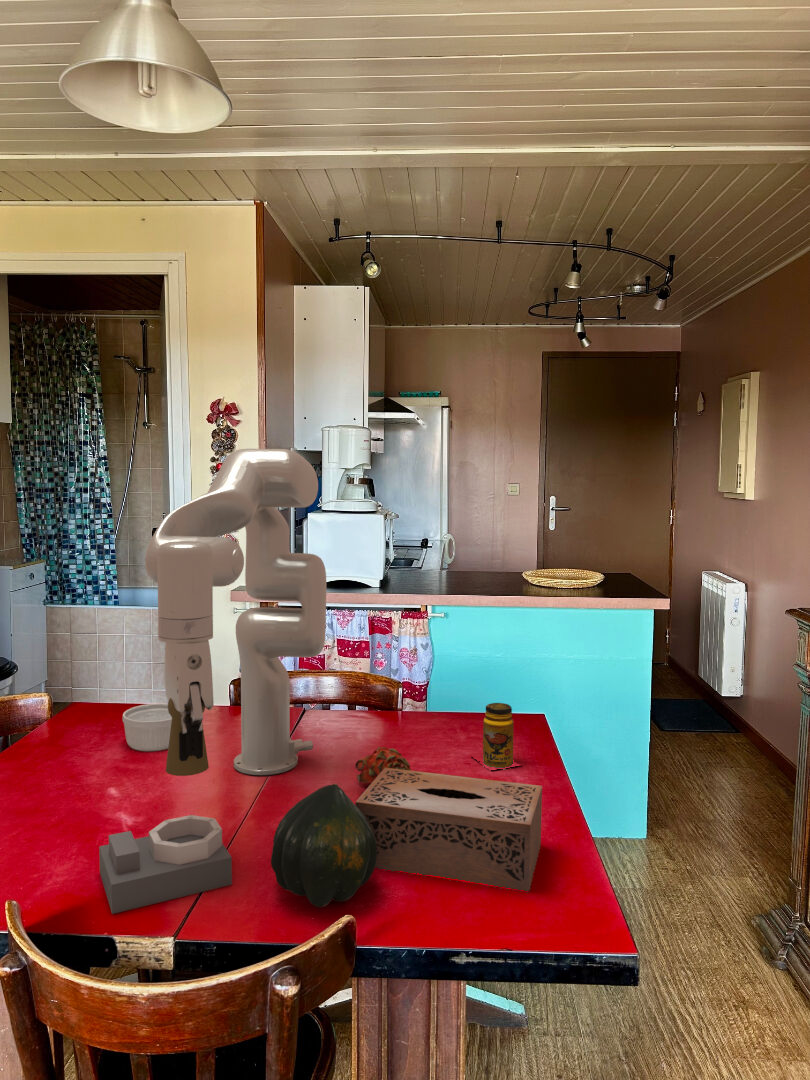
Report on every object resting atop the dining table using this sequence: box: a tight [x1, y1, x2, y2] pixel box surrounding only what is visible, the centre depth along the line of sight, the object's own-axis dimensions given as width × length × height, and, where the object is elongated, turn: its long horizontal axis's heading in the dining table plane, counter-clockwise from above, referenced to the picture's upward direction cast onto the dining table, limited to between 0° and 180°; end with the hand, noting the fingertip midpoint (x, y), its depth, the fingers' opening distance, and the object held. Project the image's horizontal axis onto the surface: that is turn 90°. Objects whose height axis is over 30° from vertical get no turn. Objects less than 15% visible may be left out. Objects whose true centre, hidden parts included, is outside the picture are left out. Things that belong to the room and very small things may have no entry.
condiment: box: [482, 702, 514, 768], centre depth 158 cm, size 7×8×12 cm
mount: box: [98, 814, 233, 915], centre depth 111 cm, size 16×12×6 cm
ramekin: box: [122, 702, 172, 752], centre depth 168 cm, size 13×13×7 cm
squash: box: [270, 783, 377, 908], centre depth 109 cm, size 14×15×15 cm
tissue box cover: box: [354, 768, 543, 892], centre depth 119 cm, size 26×14×10 cm, turn 74°
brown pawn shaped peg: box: [165, 697, 210, 777], centre depth 112 cm, size 6×6×11 cm
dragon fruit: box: [354, 746, 412, 784], centre depth 144 cm, size 8×8×12 cm
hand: (187, 752), depth 112 cm, fingers closed on brown pawn shaped peg, 4 cm apart
